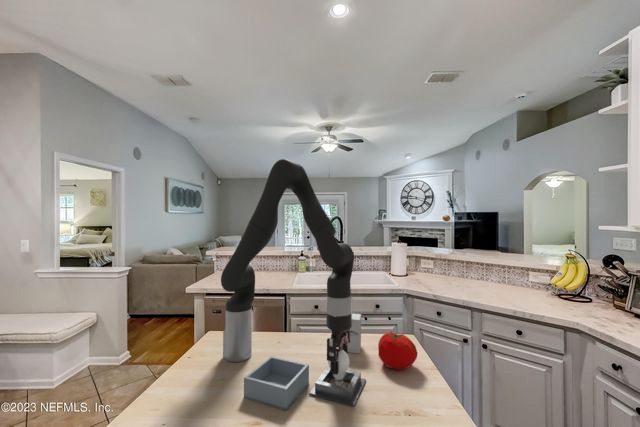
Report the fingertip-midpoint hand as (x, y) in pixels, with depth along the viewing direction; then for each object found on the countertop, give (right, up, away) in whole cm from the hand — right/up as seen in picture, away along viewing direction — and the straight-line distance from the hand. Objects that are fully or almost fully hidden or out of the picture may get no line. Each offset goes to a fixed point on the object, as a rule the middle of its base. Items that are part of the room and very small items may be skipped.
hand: (339, 366), depth 83 cm
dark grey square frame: (0, -6, 0) cm, 6 cm away
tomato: (+20, -7, +13) cm, 25 cm away
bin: (-18, -6, -1) cm, 19 cm away
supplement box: (+6, -7, +25) cm, 27 cm away
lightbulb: (0, -7, 0) cm, 7 cm away
